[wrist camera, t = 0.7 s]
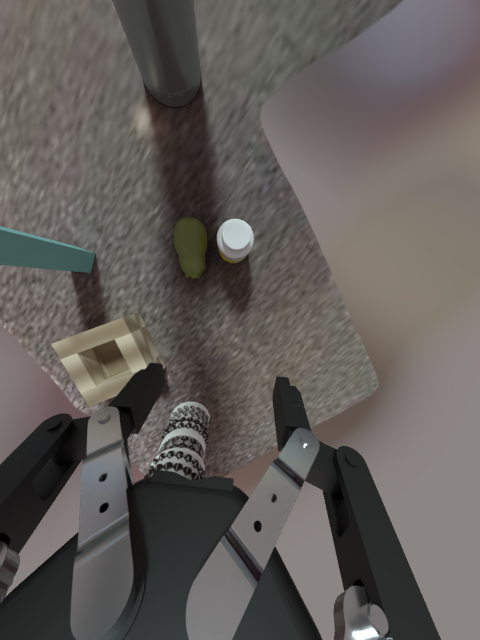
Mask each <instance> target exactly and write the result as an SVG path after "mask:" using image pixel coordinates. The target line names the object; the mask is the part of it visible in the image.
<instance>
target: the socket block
mask: <svg viewBox="0 0 480 640" xmlns="http://www.w3.org/2000/svg"><path fill="white" fill-rule="evenodd" d="M51 345H52V346H53V348H54V350H55V351H56V353H57V354H58V356H59V358H60V359H61V361H62V363H63V364H64V366H65V368H66V369H67V371H68V373H69V374H70V376H71V378H72V379H73V381H74V383H75V384H76V386H77V388H78V389H79V391H80V393H81V394H82V396H83V398H84V399H85V401H86V403H87V404H88V406H92V405H94V404H97V403H99V402H102V401H105V400H107V399H110V398H113V397H115V396H117V395H118V394H119V392H120V391H121V390H122V389H123V387H125V385H126V384H127V382H129V380H130V379H131V377H132V376H133V375H134V374H135V373H137V372H138V371H139V370H141V369H144V370H145V369H146V367H147V366H148V365H149V363H161V364H162V365H163V369H164V368H165V365H164V363H163V361H162V359H161V357H160V355H159V353H158V350H157V348H156V346H155V344H154V342H153V340H152V338H151V336H150V334H149V332H148V330H147V328H146V326H145V323H144V321H143V319H142V317H141V315H140V313H135V314H132V315H129V316H126V317H123V318H120V319H118V320H115V321H112V322H109V323H107V324H104V325H101V326H99V327H96V328H93V329H90V330H88V331H85V332H82V333H80V334H77V335H74V336H71V337H69V338H66V339H63V340H61V341H58V342H55V343H52V344H51Z"/></svg>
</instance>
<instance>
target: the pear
mask: <svg viewBox="0 0 480 640" xmlns="http://www.w3.org/2000/svg"><path fill="white" fill-rule="evenodd" d="M174 246H175V249H176V251H177V253H178V255H179V263H180V267H181V269H182V270H183V271H184V273H185V277H186V278H187V277H190V278H191V279H195V278H200V277H201V275H202V273H203V271H204V270H205V268H206V264H205V253H206V250H207V233H206V229H205V227H204V225H203V224H202V223H201V222H200V221H199V220H197V219H195V218H191V217H186V218H182V219H181V220H179V221H178V222H177V224H176V226H175V229H174Z"/></svg>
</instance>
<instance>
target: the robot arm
mask: <svg viewBox="0 0 480 640" xmlns="http://www.w3.org/2000/svg"><path fill="white" fill-rule="evenodd" d="M112 1H113V3H114V6H115V8H116V11H117V14H118V16H119V19H120V21H121V24H122V27H123V29H124V32H125V34H126V37H127V39H128V42H129V45H130V47H131V50H132V53H133V55H134V58H135V60H136V63H137V65H138V68H139V71H140V73H141V76H142V78H143V81H144V83H145V86H146V87H147V89H148V91H149V92H150V94H151V95H152V96H153V97H154V98H155V99H156V100H158V101H159V102H160V103H162V104H164V105H167V106H170V107H180V106H184V105H186V104H188V103H189V102H190V101H191V100H193V98H194V97H195V96H196V94H197V92H198V90H199V87H200V82H201V71H200V61H199V52H198V41H197V31H196V21H195V12H194V2H193V0H112ZM164 383H165V378H164V370H163V365H162V364H161V363H149V365H148V366H147V367H146V369H145V370H144V369H141V370H139V371H138V372H137V373H135V374H134V375H133V376H132V377H131V379H130V380H129V382H127V384H126V385H125V387H123V389H122V390H121V391H120V392H119V394H118V395H117V396H116V397H115V399H114V400H113V401H112V402H111V404H110V405H109V406H108V407H105V408H102V409H100V410H98V411H96V412H95V413H94V414H93V415H92V416H90V417H85V418H79V419H74V420H73V419H72V417H71V416H70V415H69V414H58V415H55V416H52V417H51V418H49V419H47V420H45V421H44V422H43V423H41V424H40V426H38V427H37V428H36V429H35V430H34V431H33V432H32V433H31V434H30V435H29V436H28V437H27V438H26V440H24V441H23V442H22V444H20V445H19V446H18V448H17V449H15V450H14V451H13V452H12V453H11V454H10V455H9V457H7V458H6V460H4V461H3V462H2V464H1V465H0V640H322V638H321V635H320V633H319V631H318V629H317V627H316V625H315V623H314V621H313V619H312V617H311V615H310V613H309V611H308V609H307V607H306V605H305V603H304V601H303V599H302V598H301V596H300V594H299V592H298V590H297V588H296V586H295V584H294V582H293V580H292V578H291V576H290V574H289V572H288V570H287V568H286V566H285V564H284V563H283V561H282V559H281V557H280V555H279V553H278V551H277V549H276V547H275V545H276V542H277V540H278V538H279V536H280V534H281V532H282V529H283V527H284V525H285V523H286V521H287V518H288V516H289V514H290V512H291V510H292V508H293V505H294V503H295V501H296V499H297V497H298V495H299V492H300V490H301V488H302V486H303V483H304V481H306V482H308V483H310V484H312V485H314V486H316V487H318V488H320V489H322V490H323V495H324V499H325V504H326V509H327V513H328V518H329V523H330V527H331V532H332V536H333V541H334V546H335V550H336V555H337V560H338V564H339V569H340V574H341V578H342V582H343V587H344V592H343V593H341V594H340V595H339V596H338V597H337V599H336V600H335V604H334V624H335V635H334V640H441V639H440V636H439V634H438V632H437V629H436V627H435V625H434V622H433V620H432V617H431V615H430V613H429V611H428V608H427V606H426V603H425V601H424V599H423V596H422V594H421V592H420V589H419V587H418V585H417V582H416V580H415V578H414V575H413V573H412V570H411V568H410V566H409V563H408V561H407V559H406V556H405V554H404V552H403V549H402V547H401V544H400V542H399V540H398V537H397V535H396V533H395V530H394V528H393V526H392V523H391V521H390V518H389V516H388V514H387V512H386V509H385V507H384V505H383V502H382V500H381V497H380V495H379V493H378V490H377V488H376V486H375V483H374V481H373V478H372V476H371V474H370V471H369V469H368V467H367V464H366V462H365V460H364V459H363V457H362V456H361V455H360V454H359V453H358V452H357V451H356V450H354V449H352V448H350V447H347V446H341V447H339V448H338V450H337V449H334V448H332V447H330V446H328V445H325V444H323V443H322V442H320V441H319V440H318V439H317V437H316V436H315V434H314V433H312V431H311V429H310V425H309V422H308V418H307V415H306V411H305V408H304V404H303V401H302V397H301V393H300V392H299V390H298V389H297V388H296V386H290V383H289V379H288V378H286V377H277V378H276V382H275V386H274V391H273V408H274V417H275V426H276V435H277V444H278V451H281V453H280V455H279V456H278V458H277V459H276V460H274V461H273V462H272V464H271V465H270V467H269V468H268V470H267V471H266V473H265V474H264V476H263V478H262V479H261V481H260V482H259V484H258V485H257V487H256V488H255V490H254V491H253V493H252V495H251V496H250V498H249V497H248V496H247V495H246V494H245V493H244V492H243V491H242V490H240V489H239V488H237V487H236V486H234V485H233V479H231V478H223V477H209V478H204V479H199V480H190V479H188V478H186V477H184V476H182V475H180V474H177V473H175V472H172V471H163V470H154V472H153V475H152V476H151V477H147V478H144V479H142V480H140V481H138V482H136V483H135V482H134V478H133V473H132V467H131V460H130V453H129V446H128V440H127V439H128V438H129V436H130V434H131V433H132V434H138V433H139V431H140V429H141V427H142V426H143V424H144V422H145V420H146V418H147V416H148V415H149V413H150V411H151V409H152V407H153V406H154V404H155V402H156V400H157V398H158V397H159V395H160V393H161V391H162V389H163V387H164ZM81 460H83V462H82V476H81V496H80V516H79V532H78V533H77V534H76V535H74V537H72V538H71V539H70V540H69V541H68V542H67V543H65V544H64V545H63V546H62V547H61V548H60V549H59V550H57V551H56V552H55V553H54V554H53V555H52V556H51V557H50V558H48V560H46V561H45V562H44V563H43V564H42V565H41V566H39V567H38V568H37V569H36V570H35V571H34V572H33V573H32V574H30V575H29V576H28V577H27V578H26V579H25V580H24V581H22V582H21V583H20V584H19V585H18V586H17V587H16V588H15V589H14V590H12V592H10V593H9V594H8V595H7V596H6V593H7V591H8V589H9V588H10V587H11V585H12V583H13V579H14V576H15V574H16V572H17V570H18V567H19V563H20V556H19V553H20V551H21V550H22V548H23V547H24V545H25V544H26V542H27V540H28V539H29V538H30V536H31V535H32V533H33V532H34V530H35V529H36V527H37V526H38V524H39V523H40V521H41V520H42V518H43V517H44V515H45V514H46V512H47V511H48V509H49V508H50V506H51V505H52V503H53V502H54V500H55V499H56V497H57V496H58V494H59V493H60V491H61V490H62V489H63V487H64V486H65V484H66V483H67V481H68V480H69V478H70V476H71V475H72V474H73V472H74V471H75V469H76V468H77V466H78V465H79V463H80V462H81ZM5 596H6V597H5Z"/></svg>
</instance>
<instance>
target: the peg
mask: <svg viewBox="0 0 480 640" xmlns="http://www.w3.org/2000/svg"><path fill="white" fill-rule="evenodd" d="M94 258H95V253H92V252H90V251H87V250H84V249H81V248H78V247H76V246H72V245H69V244H65V243H61V242H57V241H54V240H50V239H46V238H42V237H39V236H35V235H31V234H27V233H24V232H20V231H16V230H12V229H9V228H5V227H1V226H0V264H1V265H11V266H22V267H32V268H43V269H53V270H64V271H74V272H85V273H91V270H92V266H93V262H94Z"/></svg>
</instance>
